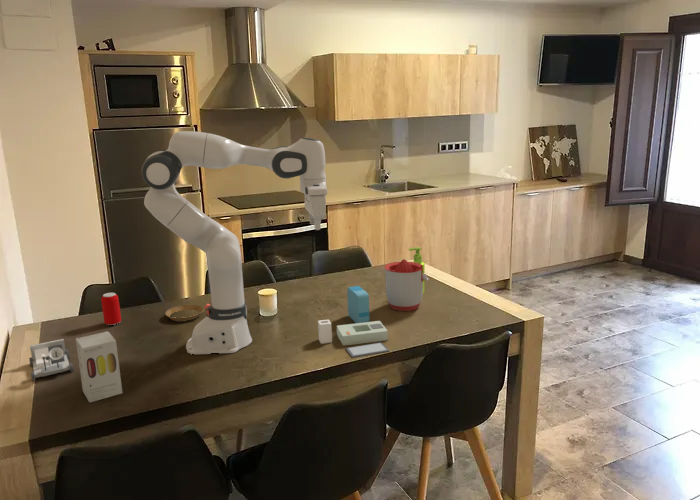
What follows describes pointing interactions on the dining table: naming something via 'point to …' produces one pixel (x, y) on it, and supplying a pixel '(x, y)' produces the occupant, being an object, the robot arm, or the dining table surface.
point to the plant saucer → (184, 307)
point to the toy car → (49, 358)
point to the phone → (367, 350)
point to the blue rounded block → (358, 304)
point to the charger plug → (325, 331)
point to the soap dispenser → (418, 259)
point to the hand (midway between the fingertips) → (315, 226)
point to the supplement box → (99, 366)
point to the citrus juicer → (404, 285)
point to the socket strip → (362, 333)
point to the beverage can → (111, 308)
